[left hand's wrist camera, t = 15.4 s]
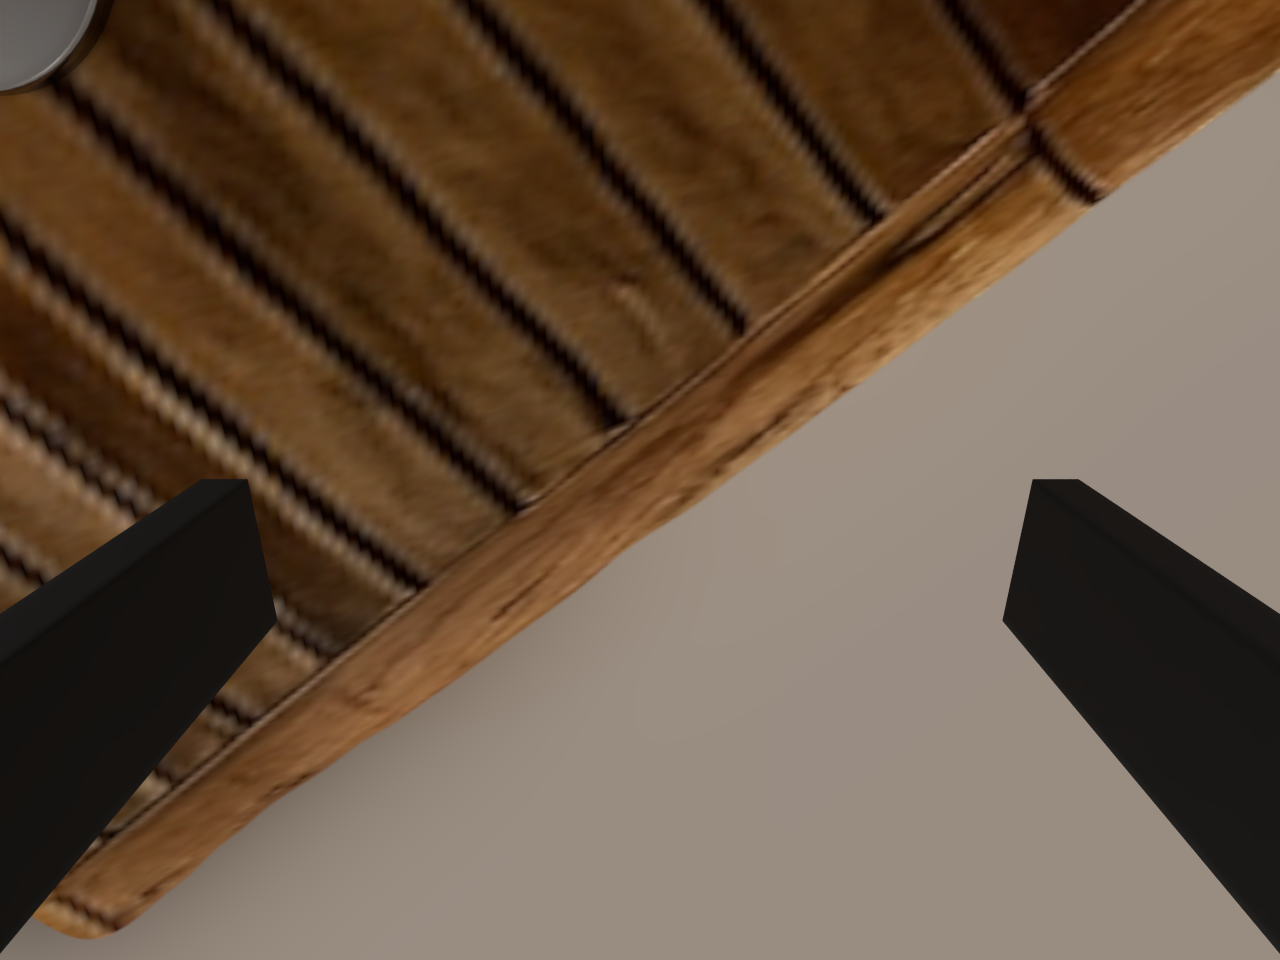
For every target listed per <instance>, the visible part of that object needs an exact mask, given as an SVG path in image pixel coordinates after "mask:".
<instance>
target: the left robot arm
mask: <svg viewBox="0 0 1280 960" xmlns="http://www.w3.org/2000/svg"><path fill="white" fill-rule="evenodd" d="M112 3H113V0H0V96H4V95H16V94H22V93H28V92H31V91H34V90H38V89H41V88H43V87H45V86H48V85H50V84H52V83H54V82H56V81H58V80H59V79H61V78H62V77H64V76H66V75H67V74H68V73H69V72H71V71H72V70H73V69H74V68H76V67H77V66H78V65H79V64H80V63H81V62H82V60H83V59H84V58H85V57H86V56H87V55H88V54H89V52H90V51H91V49H92V48H93V47H94V45H95V44H96V42H97V40H98V38H99V37H100V35H101V33H102V31H103V29H104V27H105V24H106V22H107V19H108V17H109V14H110V10H111V7H112ZM276 622H277V616H276V611H275V607H274V602H273V597H272V593H271V588H270V583H269V579H268V574H267V569H266V565H265V560H264V555H263V551H262V546H261V541H260V537H259V532H258V527H257V522H256V518H255V513H254V508H253V504H252V499H251V494H250V490H249V485H248V480H247V479H201V480H200V481H198V482H197V483H195V484H194V485H192V486H191V487H189V488H188V489H186V490H185V491H183V492H182V493H180V494H179V495H177V496H176V497H174V498H173V499H171V500H170V501H168V502H167V503H165V504H164V505H162V506H161V507H159V508H158V509H156V510H155V511H153V512H152V513H150V514H149V515H147V516H146V517H144V518H143V519H141V520H140V521H138V522H137V523H135V524H134V525H132V526H131V527H129V528H128V529H126V530H125V531H123V532H122V533H120V534H119V535H118V536H116V537H115V538H113V539H112V540H110V541H109V542H107V543H106V544H104V545H103V546H101V547H100V548H98V549H97V550H95V551H94V552H92V553H91V554H89V555H88V556H86V557H85V558H83V559H82V560H80V561H79V562H77V563H76V564H74V565H73V566H71V567H70V568H68V569H67V570H65V571H64V572H62V573H61V574H59V575H58V576H56V577H55V578H53V579H52V580H50V581H49V582H47V583H46V584H44V585H43V586H41V587H40V588H38V589H37V590H35V591H34V592H32V593H31V594H29V595H28V596H26V597H25V598H23V599H22V600H20V601H19V602H17V603H16V604H14V605H13V606H11V607H10V608H8V609H7V610H5V611H4V612H2V613H1V614H0V953H1V952H2V951H3V950H4V948H5V947H6V946H7V945H8V944H9V942H10V941H11V940H12V939H13V938H14V936H15V935H16V934H17V933H18V931H19V930H20V929H21V928H22V927H23V925H24V924H25V923H26V922H27V921H28V920H29V918H30V917H31V916H32V915H33V914H34V912H35V911H36V910H37V909H38V908H39V906H40V905H41V904H42V903H43V902H44V900H45V899H46V898H47V897H48V896H49V894H50V893H51V892H52V891H53V890H54V888H55V887H56V886H57V885H58V884H59V882H60V881H61V880H62V879H63V878H64V876H65V875H66V874H67V873H68V872H69V870H70V869H71V868H72V867H73V866H74V864H75V863H76V862H77V861H78V860H79V858H80V857H81V856H82V855H83V854H84V852H85V851H86V850H87V849H88V848H89V846H90V845H91V844H92V843H93V842H94V840H95V839H96V838H97V837H98V836H99V834H100V833H101V832H102V831H103V830H104V828H105V827H106V826H107V825H108V824H109V822H110V821H111V820H112V819H113V818H114V816H115V815H116V814H117V813H118V812H119V810H120V809H121V808H122V807H123V806H124V804H125V803H126V802H127V801H128V800H129V798H130V797H131V796H132V795H133V794H134V792H135V791H136V790H137V789H138V788H139V786H140V785H141V784H142V783H143V782H144V780H145V779H146V778H147V777H148V776H149V774H150V773H151V772H152V771H153V770H154V768H155V767H156V766H157V765H158V764H159V762H160V761H161V760H162V759H163V758H164V756H165V755H166V754H167V753H168V752H169V750H170V749H171V748H172V747H173V746H174V744H175V743H176V742H177V741H178V740H179V738H180V737H181V736H182V735H183V734H184V732H185V731H186V730H187V729H188V728H189V726H190V725H191V724H192V723H193V722H194V720H195V719H196V718H197V717H198V716H199V714H200V713H201V712H202V711H203V710H204V708H205V707H206V706H207V705H208V704H209V702H210V701H211V700H212V699H213V698H214V696H215V695H216V694H217V693H218V692H219V690H220V689H221V688H222V687H223V686H224V684H225V683H226V682H227V681H228V680H229V678H230V677H231V676H232V675H233V674H234V672H235V671H236V670H237V669H238V668H239V666H240V665H241V664H242V663H243V662H244V660H245V659H246V658H247V657H248V656H249V654H250V653H251V652H252V651H253V650H254V648H255V647H256V646H257V645H258V644H259V642H260V641H261V640H262V639H263V638H264V636H265V635H266V634H267V633H268V632H269V630H270V629H271V628H272V627H273V626H274V624H275V623H276ZM1003 622H1004V623H1005V624H1006V625H1007V627H1008V628H1009V629H1010V630H1011V632H1012V633H1013V634H1014V635H1015V636H1016V638H1017V639H1018V640H1019V641H1020V642H1021V644H1022V645H1023V646H1024V647H1025V648H1026V650H1027V651H1028V652H1029V653H1030V654H1031V655H1032V657H1033V658H1034V659H1035V660H1036V662H1037V663H1038V664H1039V665H1040V666H1041V668H1042V669H1043V670H1044V671H1045V672H1046V674H1047V675H1048V676H1049V677H1050V678H1051V680H1052V681H1053V682H1054V683H1055V684H1056V686H1057V687H1058V688H1059V689H1060V690H1061V691H1062V693H1063V694H1064V695H1065V696H1066V698H1067V699H1068V700H1069V701H1070V702H1071V704H1072V705H1073V706H1074V707H1075V708H1076V710H1077V711H1078V712H1079V713H1080V714H1081V716H1082V717H1083V718H1084V719H1085V720H1086V722H1087V723H1088V724H1089V725H1090V726H1091V728H1092V729H1093V730H1094V731H1095V732H1096V734H1097V735H1098V736H1099V737H1100V738H1101V740H1102V741H1103V742H1104V743H1105V744H1106V746H1107V747H1108V748H1109V749H1110V750H1111V752H1112V753H1113V754H1114V755H1115V756H1116V758H1117V759H1118V760H1119V761H1120V762H1121V764H1122V765H1123V766H1124V767H1125V768H1126V770H1127V771H1128V772H1129V773H1130V774H1131V776H1132V777H1133V778H1134V779H1135V780H1136V782H1137V783H1138V784H1139V785H1140V786H1141V788H1142V789H1143V790H1144V791H1145V792H1146V794H1147V795H1148V796H1149V797H1150V798H1151V799H1152V801H1153V802H1154V803H1155V804H1156V806H1157V807H1158V808H1159V809H1160V810H1161V812H1162V813H1163V814H1164V815H1165V816H1166V818H1167V819H1168V820H1169V821H1170V822H1171V824H1172V825H1173V826H1174V827H1175V828H1176V830H1177V831H1178V832H1179V833H1180V834H1181V836H1182V837H1183V838H1184V839H1185V840H1186V842H1187V843H1188V844H1189V845H1190V846H1191V848H1192V849H1193V850H1194V851H1195V852H1196V854H1197V855H1198V856H1199V857H1200V858H1201V860H1202V861H1203V862H1204V863H1205V864H1206V866H1207V867H1208V868H1209V869H1210V870H1211V872H1212V873H1213V874H1214V875H1215V876H1216V878H1217V879H1218V880H1219V881H1220V882H1221V884H1222V885H1223V886H1224V887H1225V888H1226V890H1227V891H1228V892H1229V893H1230V894H1231V896H1232V897H1233V898H1234V899H1235V900H1236V902H1237V903H1238V904H1239V905H1240V906H1241V908H1242V909H1243V910H1244V911H1245V912H1246V914H1247V915H1248V916H1249V917H1250V918H1251V920H1252V921H1253V922H1254V923H1255V924H1256V925H1257V927H1258V928H1259V929H1260V930H1261V932H1262V933H1263V934H1264V935H1265V936H1266V938H1267V939H1268V940H1269V941H1270V942H1271V944H1272V945H1273V946H1274V947H1275V948H1276V950H1277V951H1278V952H1279V953H1280V614H1279V613H1278V612H1276V611H1275V610H1273V609H1272V608H1270V607H1269V606H1267V605H1266V604H1264V603H1263V602H1261V601H1260V600H1258V599H1257V598H1255V597H1254V596H1252V595H1251V594H1249V593H1248V592H1246V591H1245V590H1243V589H1242V588H1240V587H1239V586H1237V585H1236V584H1234V583H1233V582H1231V581H1230V580H1228V579H1227V578H1225V577H1224V576H1222V575H1221V574H1219V573H1218V572H1216V571H1215V570H1213V569H1212V568H1210V567H1209V566H1207V565H1206V564H1204V563H1203V562H1201V561H1200V560H1198V559H1197V558H1195V557H1194V556H1192V555H1191V554H1189V553H1188V552H1186V551H1185V550H1183V549H1182V548H1180V547H1179V546H1177V545H1176V544H1174V543H1173V542H1171V541H1170V540H1168V539H1167V538H1165V537H1164V536H1162V535H1161V534H1160V533H1158V532H1157V531H1155V530H1153V529H1152V528H1150V527H1149V526H1148V525H1146V524H1144V523H1143V522H1142V521H1140V520H1139V519H1137V518H1136V517H1134V516H1133V515H1131V514H1130V513H1128V512H1127V511H1125V510H1124V509H1122V508H1121V507H1119V506H1118V505H1116V504H1115V503H1113V502H1112V501H1110V500H1109V499H1107V498H1106V497H1104V496H1103V495H1101V494H1100V493H1098V492H1097V491H1095V490H1094V489H1092V488H1091V487H1089V486H1088V485H1086V484H1085V483H1083V482H1082V481H1080V480H1079V479H1033V481H1032V485H1031V490H1030V494H1029V499H1028V504H1027V508H1026V513H1025V518H1024V523H1023V527H1022V532H1021V537H1020V541H1019V546H1018V551H1017V555H1016V560H1015V565H1014V569H1013V574H1012V579H1011V583H1010V588H1009V593H1008V597H1007V602H1006V607H1005V612H1004V616H1003Z"/></svg>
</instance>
